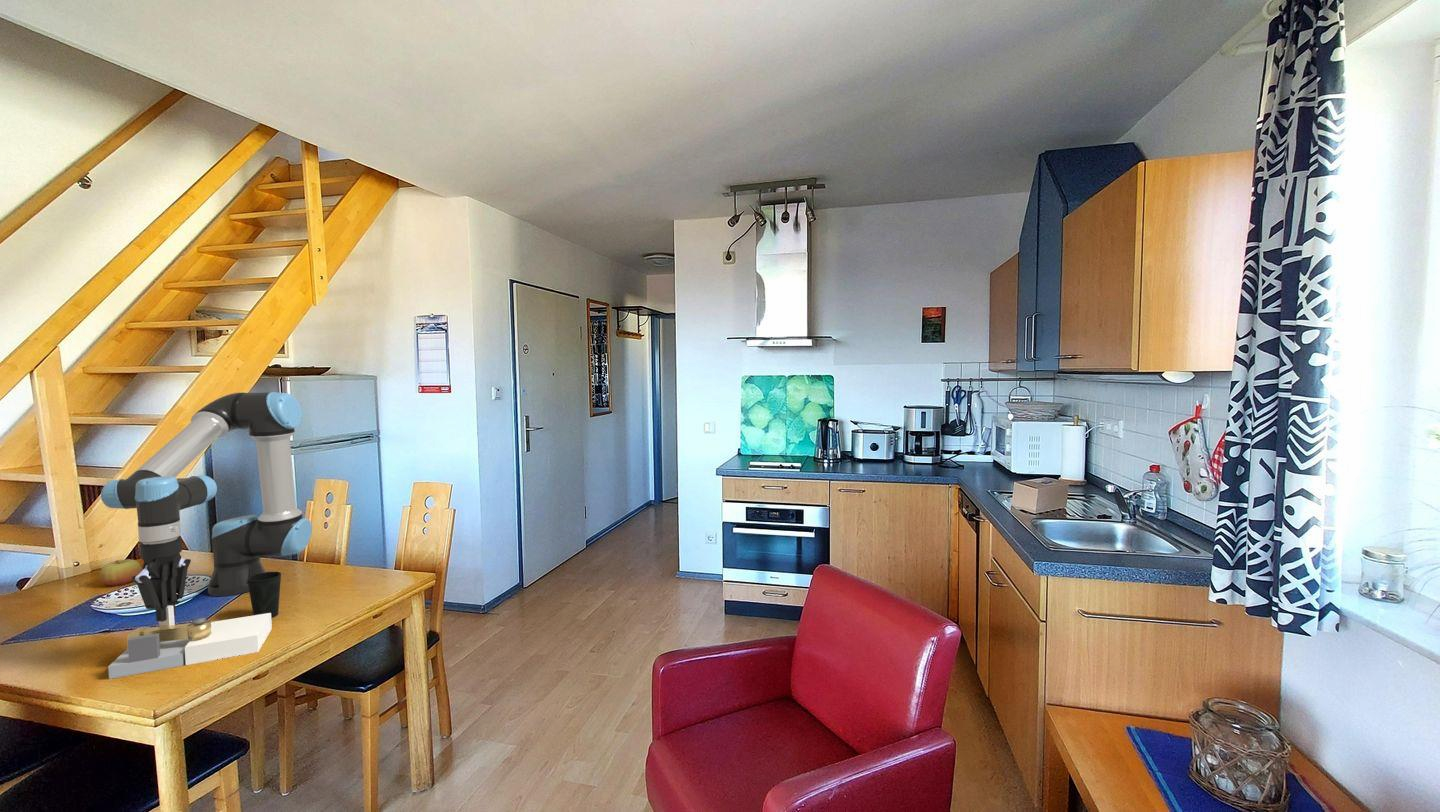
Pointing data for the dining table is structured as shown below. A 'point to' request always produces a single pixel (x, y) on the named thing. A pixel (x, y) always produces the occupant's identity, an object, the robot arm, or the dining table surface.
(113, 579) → the apple
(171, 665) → the doorframe
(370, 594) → the dining table surface
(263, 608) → the cup
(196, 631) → the bar
